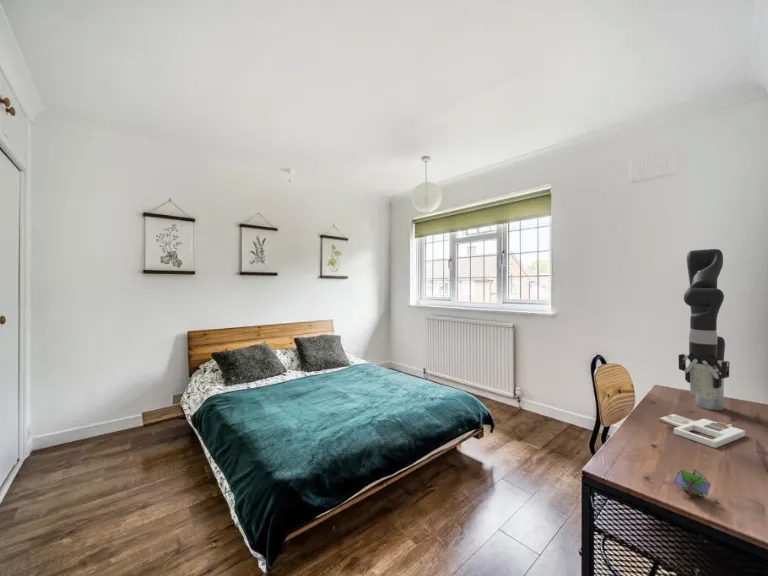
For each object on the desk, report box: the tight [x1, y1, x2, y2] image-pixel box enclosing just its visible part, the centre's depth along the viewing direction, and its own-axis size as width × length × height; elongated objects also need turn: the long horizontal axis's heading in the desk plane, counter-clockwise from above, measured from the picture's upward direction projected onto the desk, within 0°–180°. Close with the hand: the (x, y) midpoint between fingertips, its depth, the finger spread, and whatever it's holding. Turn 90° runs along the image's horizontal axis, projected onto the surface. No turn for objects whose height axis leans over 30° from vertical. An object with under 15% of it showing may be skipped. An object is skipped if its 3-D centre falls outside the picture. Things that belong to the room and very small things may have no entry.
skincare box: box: [689, 361, 717, 398], centre depth 121 cm, size 6×4×12 cm
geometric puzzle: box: [673, 468, 712, 499], centre depth 89 cm, size 7×7×8 cm
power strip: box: [673, 418, 746, 449], centre depth 125 cm, size 28×12×3 cm, turn 114°
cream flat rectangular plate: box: [658, 413, 697, 427], centre depth 135 cm, size 11×8×1 cm
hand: (702, 385), depth 122 cm, fingers closed on skincare box, 7 cm apart
